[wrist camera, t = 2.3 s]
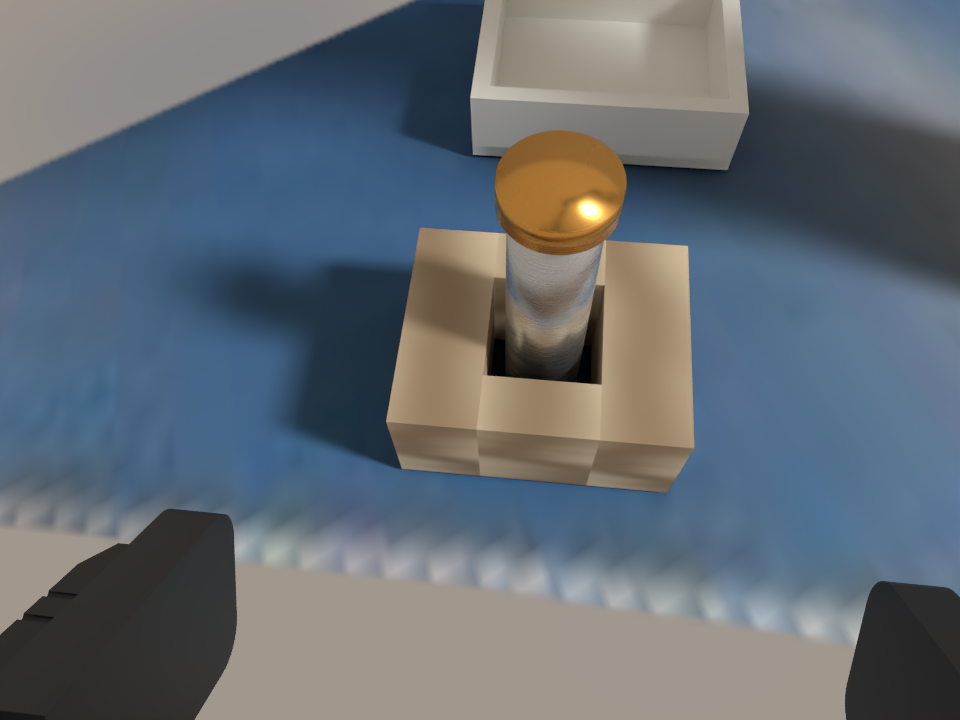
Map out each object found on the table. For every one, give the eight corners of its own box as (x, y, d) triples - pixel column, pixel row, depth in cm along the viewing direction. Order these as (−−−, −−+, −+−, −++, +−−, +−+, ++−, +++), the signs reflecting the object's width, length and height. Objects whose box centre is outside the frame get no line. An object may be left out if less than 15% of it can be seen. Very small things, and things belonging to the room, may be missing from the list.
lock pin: (583, 351, 31) (627, 134, 20) (580, 428, 29) (626, 235, 19) (501, 345, 31) (501, 126, 20) (493, 421, 30) (489, 226, 19)
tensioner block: (664, 310, 32) (687, 245, 28) (667, 492, 28) (694, 448, 24) (429, 292, 33) (420, 227, 29) (401, 468, 29) (385, 421, 25)
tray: (718, 26, 40) (736, -36, 37) (727, 170, 35) (749, 113, 32) (492, 15, 41) (492, -46, 38) (472, 154, 36) (470, 98, 33)
